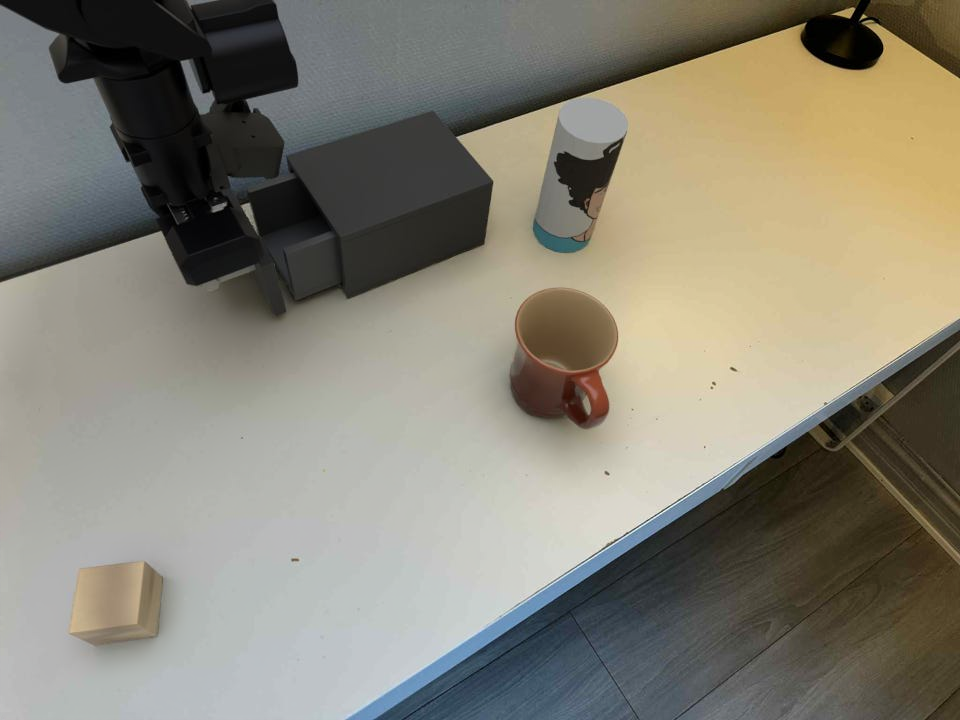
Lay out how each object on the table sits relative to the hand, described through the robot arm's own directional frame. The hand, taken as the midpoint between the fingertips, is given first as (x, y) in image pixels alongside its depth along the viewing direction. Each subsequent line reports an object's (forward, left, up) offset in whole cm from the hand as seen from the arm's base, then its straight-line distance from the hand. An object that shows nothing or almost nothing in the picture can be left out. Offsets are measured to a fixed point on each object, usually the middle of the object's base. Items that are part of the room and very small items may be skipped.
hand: (210, 256), depth 61 cm
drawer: (+8, +3, -5) cm, 10 cm away
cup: (+36, +6, -6) cm, 38 cm away
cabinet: (+17, +7, -6) cm, 20 cm away
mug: (+30, -16, -6) cm, 35 cm away
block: (-6, -30, -6) cm, 31 cm away
